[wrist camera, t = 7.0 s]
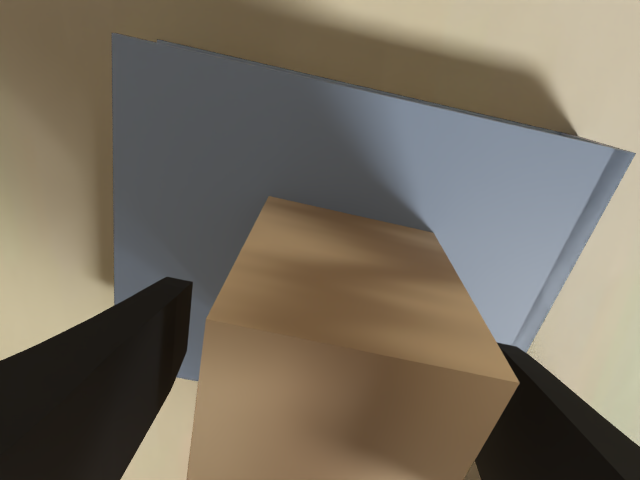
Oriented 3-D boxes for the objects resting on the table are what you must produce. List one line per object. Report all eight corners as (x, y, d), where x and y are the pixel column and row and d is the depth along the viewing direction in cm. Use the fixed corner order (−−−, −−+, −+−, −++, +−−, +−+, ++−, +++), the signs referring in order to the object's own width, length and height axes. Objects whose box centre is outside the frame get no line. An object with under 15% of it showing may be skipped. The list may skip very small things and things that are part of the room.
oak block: (433, 232, 12) (519, 382, 6) (385, 360, 14) (418, 557, 8) (268, 195, 11) (205, 319, 6) (245, 331, 13) (182, 516, 8)
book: (573, 134, 13) (635, 153, 10) (459, 377, 18) (481, 434, 15) (161, 39, 12) (111, 32, 10) (150, 317, 17) (114, 365, 14)
